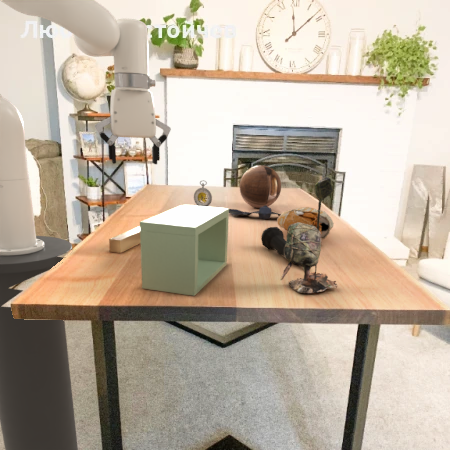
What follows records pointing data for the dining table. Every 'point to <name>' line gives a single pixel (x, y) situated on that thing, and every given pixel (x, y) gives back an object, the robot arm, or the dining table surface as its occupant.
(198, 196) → the pocket watch
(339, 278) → the dining table surface
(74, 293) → the dining table surface
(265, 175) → the wooden sphere
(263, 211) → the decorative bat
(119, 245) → the stick
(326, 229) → the nautilus
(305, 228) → the plant with pod
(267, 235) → the microphone
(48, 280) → the dining table surface
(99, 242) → the dining table surface
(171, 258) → the shelf
